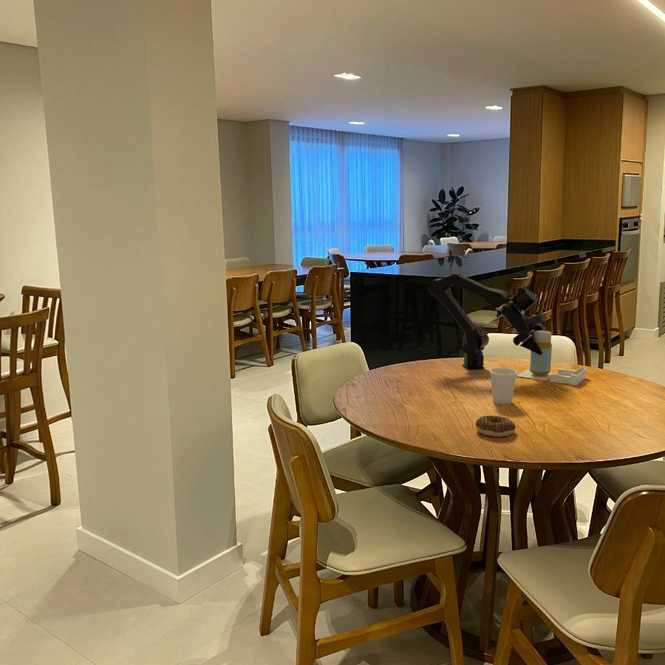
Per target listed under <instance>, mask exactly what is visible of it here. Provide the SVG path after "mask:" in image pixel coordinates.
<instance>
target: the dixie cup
mask: <svg viewBox="0 0 665 665" xmlns="http://www.w3.org/2000/svg"><path fill="white" fill-rule="evenodd" d="M489 373H490V380H491V381H490V382H491V394H492V401H493V403H494V404H497V405H511V404H512V401H513V396H514V390H515V384H516V383H515V382H516V380H517V379H516V378H517V377H516V376H517V375H518V371H517V370H516V369H513V368H510V367H509V368H508V367H494V368H491V369H489Z"/></svg>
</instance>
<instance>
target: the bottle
mask: <svg viewBox="0 0 665 665" xmlns="http://www.w3.org/2000/svg"><path fill="white" fill-rule="evenodd" d="M533 335H535V337H534V340H535V342H536V343H537V345H538V346H539V348H540V350H541V351H542V354H541V355H539V354H537V353H535V352H533V351H531V350H530V360H529V361H530V362H529V370H530V372H531V373H533V374H536V375H547V374H549V373H551V368H552V367H551V366H552V365H551V364H552V353H553V352H552V351H553V350H552V349H553V345H552V332H551V331H548V330H544V331H534V332H533Z"/></svg>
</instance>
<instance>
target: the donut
mask: <svg viewBox="0 0 665 665" xmlns="http://www.w3.org/2000/svg"><path fill="white" fill-rule="evenodd" d="M516 427H517V426H516V424H515V422H513V421H512V420H510V419H509V418H507V417H505V416H500V415H483V416H479V417H478V418H477V419H476V421H475V428H476V430H477V431H478V433H480V434H482V435H483V436H487V435H488V437H491V436H494V437H493V438H504V437H503V436H506V437H509V436H510V435H512V434H513V433H514V432H515V431H516V430H515V429H516Z"/></svg>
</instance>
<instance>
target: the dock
mask: <svg viewBox="0 0 665 665" xmlns="http://www.w3.org/2000/svg"><path fill="white" fill-rule="evenodd" d="M586 377H587V368H584V367H579V368H578V369H576V370H574V369H567V368H560V367H559V368H558V370H557V373H556V374H550V379H549V382H550V381H551V383H557V382H558V384H564V383H565V385H570V386H577V385H579V384H580V383H581V382H583V381H584V380H585V379H586ZM582 380H583V381H582Z"/></svg>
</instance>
